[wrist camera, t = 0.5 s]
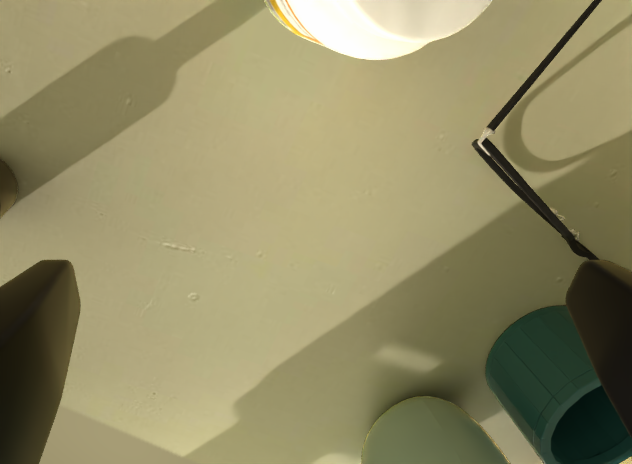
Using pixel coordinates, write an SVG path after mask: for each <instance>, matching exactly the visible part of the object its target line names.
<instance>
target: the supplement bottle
mask: <svg viewBox="0 0 632 464" xmlns="http://www.w3.org/2000/svg"><path fill="white" fill-rule="evenodd" d="M264 2H265V4H266V5H267V7H268V8H269V10H270V11H271V13H272V14H273V15H274V17H275V18H276V19H277V20H278V21H279V22H280V23H281V24H282V25H283V26H284V27H286V28H287V29H288V30H290V31H291V32H293V33H294V34H297V35H299V36H301V37H303V38H305V39H307V40H310V41H312V42H315V43H317V44H320V45H322V46H325V47H327V48H330V49H332V50H334V51H337V52H339V53H342V54H345V55H348V56H352V57H355V58H361V59H369V60H383V59H391V58H396V57H400V56H403V55H406V54H409V53H411V52H414V51H416V50H418V49H420V48H422V47H423V46H425V45H427V44H428V43H430V42H431V41H435V40H438V39H442V38H445V37H448V36H450V35H452V34H454V33H456V32H458V31H460V30H461V29H463V28H465V27H466V26H468V25H469V24H470V23H471V22H473V21H474V20H475V19H476V18H477V17H478V16H479V15H480V14H481V13H482V12H483V11H484V10H485V9H486V8H487V7H488V5H489V4H490V3H491V2H492V0H264Z"/></svg>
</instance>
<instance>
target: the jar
mask: <svg viewBox="0 0 632 464" xmlns="http://www.w3.org/2000/svg"><path fill="white" fill-rule="evenodd" d="M485 374H486V380H487V383H488V386H489V388H490V389H491V391H492V392H493V394H494V395H495V397H496V399H497V400H498V401H499V403H500V404H501V405H502V407H503V408H504V409H505V411H506V412H507V414H508V415H509V416H510V418H511V419H512V420H513V422H514V423H515V424H516V426H517V427H518V429H519V430H520V431H521V433H522V434H523V435H524V437H525V438H526V440H527V441H528V442H529V444H530V445H531V446H532V448H533V449H534V450H535V452H536V453H537V455H538V456H539V457H540V459H541V460H542V461H543V463H544V464H619V463H620V462H622V461H624V460H626V459H627V458H629V457H631V456H632V438H631V437H630V435H629V433H628V431H627V429H626V428H625V426H624V424H623V422H622V420H621V419H620V417H619V415H618V413H617V411H616V410H615V408H614V406H613V404H612V403H611V401H610V399H609V397H608V395H607V394H606V392H605V390H604V388H603V386H602V384H601V382H600V381H599V379H598V377H597V375H596V372H595V370H594V368H593V366H592V364H591V361H590V359H589V357H588V355H587V352H586V350H585V348H584V345H583V343H582V341H581V338H580V336H579V334H578V332H577V329H576V327H575V325H574V322H573V320H572V318H571V316H570V313H569V311H568V309H567V306H552V307H546V308H542V309H539V310H537V311H534V312H532V313H530V314H528V315H526V316H524V317H522V318H521V319H519V320H518V321H516V322H515V323H514V324H512V325H511V326H510V327H509V328H508V329H507V330H506V331H505V332H504V333H503V334H502V335H501V336H500V337H499V339H498V340H497V341H496V343H495V344H494V346H493V347H492V349H491V351H490V354H489V356H488V359H487V363H486V371H485Z"/></svg>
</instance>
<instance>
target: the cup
mask: <svg viewBox="0 0 632 464" xmlns="http://www.w3.org/2000/svg"><path fill="white" fill-rule="evenodd" d="M361 464H511V463H510V462H509V460H508V459H507V457H506V456H505V455H504V453H503V452H502V451H501V449H500V448H499V447H498V445H497V444H496V443H495V442H494V440H493V439H492V438H491V437H490V435H489V434H488V433H487V432H486V431H485V430H484V429H483V427H482V426H481V425H480V424H479V423H478V422H477V421H476V420H475V419H474V418H472V417H471V416H470V415H469V414H468V413H467V412H465V411H464V410H463V409H461V408H460V407H459V406H457V405H455V404H453V403H451V402H449V401H447V400H444V399H441V398H438V397H430V396H417V397H412V398H409V399H405V400H403V401H401V402H399V403H397V404H395V405H394V406H392V407H391V408H389V409H388V410H387V411H385V412H384V413H383V414H382V415H381V416H380V417H379V418H378V419H377V420H376V421H375V423H374V424H373V426H372V427H371V429H370V430H369V432H368V434H367V436H366V438H365V441H364V445H363V449H362V456H361Z"/></svg>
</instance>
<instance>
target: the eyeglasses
mask: <svg viewBox="0 0 632 464" xmlns="http://www.w3.org/2000/svg"><path fill="white" fill-rule="evenodd" d="M601 1H602V0H594V1H593V2H592V3H591V4H590V6H589V7H588V8H587V9H586V10H585V12H584V13H583V14H582V15H581V16H580V17H579V19H578V20H577V21H576V22H575V23H574V25H573V26H572V27H571V28H570V29H569V30H568V32H567V33H566V34H565V35H564V36H563V37H562V39H561V40H560V41H559V42H558V43H557V45H556V46H555V47H554V48H553V49H552V50H551V52H550V53H549V54H548V55H547V56H546V58H545V59H544V60H543V61H542V62H541V63H540V65H539V66H538V67H537V68H536V69H535V71H534V72H533V73H532V74H531V75H530V76H529V78H528V79H527V80H526V81H525V82H524V84H523V85H522V86H521V87H520V88H519V89H518V91H517V92H516V93H515V94H514V95H513V97H512V98H511V99H510V100H509V101H508V102H507V104H506V105H505V106H504V107H503V108H502V110H501V111H500V112H499V113H498V114H497V115H496V117H495V118H494V119H493V120H492V121H491V123H490V124H489V125H488V126H487V127H486V129H484V131H483V132H484V133H483V135H482V136H481V137H480V139H476V140H475V141H474V142H472V146H473V147H474V148H475V150H476V151H477V152H478V153H479V155H480V156H481V157H482V158H483V159H484V160H485V161H486V163H487V164H488V165H489V166H490V167H491V168H492V169H493V170H494V171H495V172H496V173H497V175H498V176H499V177H500V178H501V179H502V180H503V181H504V182H505V183H506V184H507V185H508V186H509V187H510V188H511V189H512V190H513V191H514V192H515V193H516V194H517V195H518V196H519V197H520V198H521V199H522V200H523V201H524V202H526V203H527V204H528V205H529V206H530V207H531V208H532V209H533V210H534V211H535V212H537V213H538V214H539V215H540V216H541V217H542V218H543V219H544V220H546V221H547V222H548V223H549V224H550V225H551V226H552V227H553V228H555V229H556V230H557V231H558V232H559V233H560V234H561V235H562V237H563V238H564V239H565V240H566V241H567V243H568V245H569V246H570V248H571V249H572V251H573V252H574V253H575V254H577V255H579V256H581V257H586V258H588V259H589V260H599V259H598V258H597V257H596V256H595V255H594V254H593V253H591V252H590V251H589V250H588V249H587V248H586V247H584V246H583V245H582V244H581V243H580V242H579V241H580V240H579V234H580V233H579V232H575V229H568V228H567V227H566V226H565V225H564V224H563V223H562V222H561V221H563V220H565V217H564V216H561V215H559V214H557V212H558V210H556V209H553V208H549V207H548V206H547V205H546V204H545V203H544V202H543V200H542V199H541V198H540V197H539V196H538V195H537V194H536V193H535V192H534V191H533V189H532V188H531V187H530V186H529V185H528V184H527V183H526V181H525V180H524V179H523V178H522V177H521V176H520V174H519V173H518V172H517V171H516V170H515V169H514V167H513V166H512V165H511V164H510V163H509V162H508V161H507V159H506V158H505V157H504V156H503V155H502V154H501V152H500V151H499V150H498V149H497V148H496V147H495V146H494V145H493V144H492V142H490V141H489V140H488V139H487V138H486V137H487V135H488V136H489V135H490V134H494V133H495V129H496V128H497V127H498V125H499V124H500V123H501V122H502V121H503V119H504V118H505V117H506V116H507V114H508V113H509V112H510V111H511V110H512V108H513V107H514V106H515V105H516V104H517V102H518V101H519V100H520V99H521V98H522V96H523V95H524V94H525V93H526V91H527V90H528V89H529V88H530V87H531V85H532V84H533V83H534V82H535V81H536V79H537V78H538V77H539V76H540V75H541V73H542V72H543V71H544V70H545V68H546V67H547V66H548V65H549V64H550V62H551V61H552V60H553V59H554V58H555V56H556V55H557V54H558V53H559V52H560V50H561V49H562V48H563V47H564V45H565V44H566V43H567V42H568V41H569V39H570V38H571V37H572V36H573V35H574V33H575V32H576V31H577V30H578V29H579V27H580V26H581V25H582V24H583V22H584V21H585V20H586V19H587V18H588V16H589V15H590V14H591V13H592V12H593V10H594V9H595V8H596V7H597V6H598V4H599V3H600V2H601ZM491 157H492V158H493V159H494V160H495V161H496V162H497V163H498V164H499V165H500V166H501V167H502V168H503V169H504V171H505V172H506V173H507V174H508V175H509V176H510V177H511V178H512V180H513V181H514V182H515V183H516V184H517V185H518V186H517V185H516V184H515V183H514V182H513V181H512V180H511V179H510V178H509V177H508V176H507V174H506V173H505V172H504V171H503V170H502V169H501V168H500V167H499V166H498V165H497V164H496V162H495V161H494V160H493V159H492V158H491ZM556 216H559V217H561V218H562V219H560V220H559V219H558V218H557V217H556ZM575 234H577V239H576V238H575V236H574V235H575Z"/></svg>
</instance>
